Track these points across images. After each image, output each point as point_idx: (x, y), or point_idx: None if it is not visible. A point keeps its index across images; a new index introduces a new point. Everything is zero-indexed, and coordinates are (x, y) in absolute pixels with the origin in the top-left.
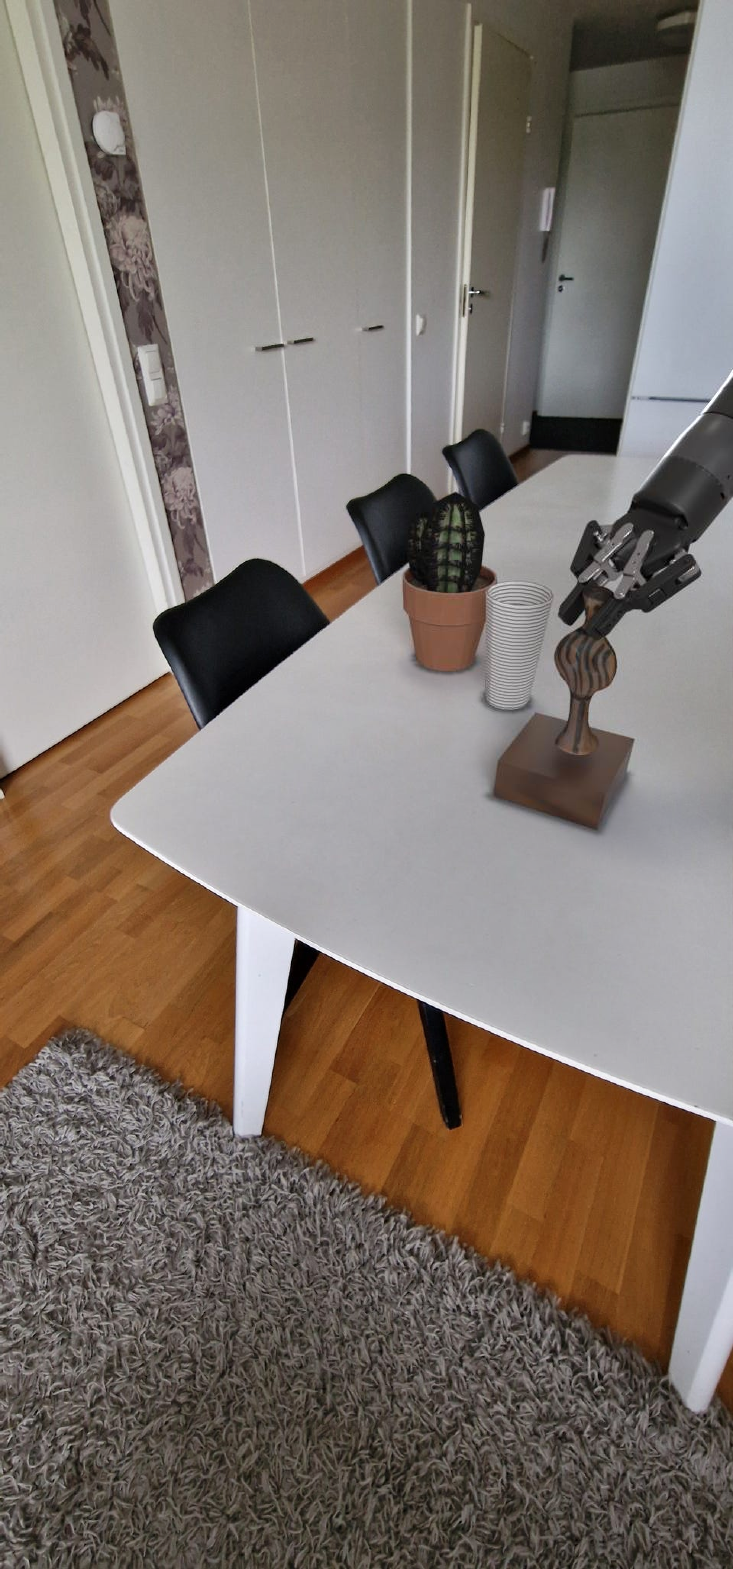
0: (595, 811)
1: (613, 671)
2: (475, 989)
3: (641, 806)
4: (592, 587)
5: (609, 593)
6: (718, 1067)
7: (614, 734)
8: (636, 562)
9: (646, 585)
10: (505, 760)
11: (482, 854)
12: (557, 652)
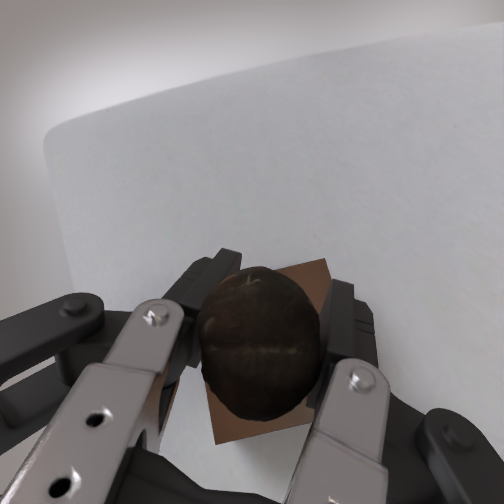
0: None
1: None
2: (189, 96)
3: (182, 375)
4: (264, 287)
5: (201, 311)
6: (44, 151)
7: (244, 434)
8: (77, 420)
9: (37, 336)
10: (318, 265)
11: (267, 195)
12: None
